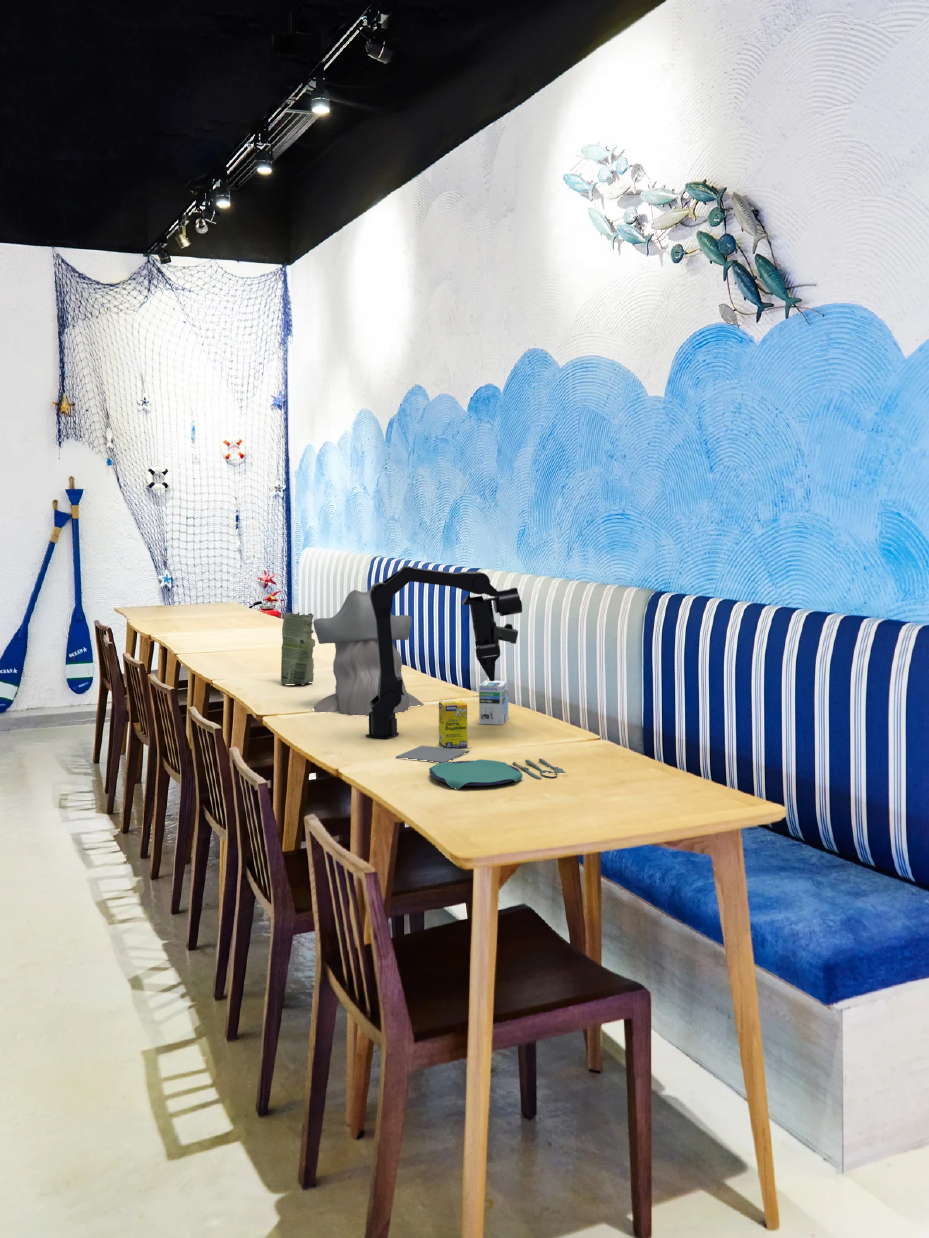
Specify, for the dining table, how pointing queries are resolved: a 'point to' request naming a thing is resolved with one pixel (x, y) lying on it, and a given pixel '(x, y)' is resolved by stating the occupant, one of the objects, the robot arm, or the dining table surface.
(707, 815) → the dining table surface
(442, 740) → the supplement box
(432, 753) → the mat
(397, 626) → the gray wizard statue
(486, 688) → the light bulb box
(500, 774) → the cutlery set
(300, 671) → the pouch
